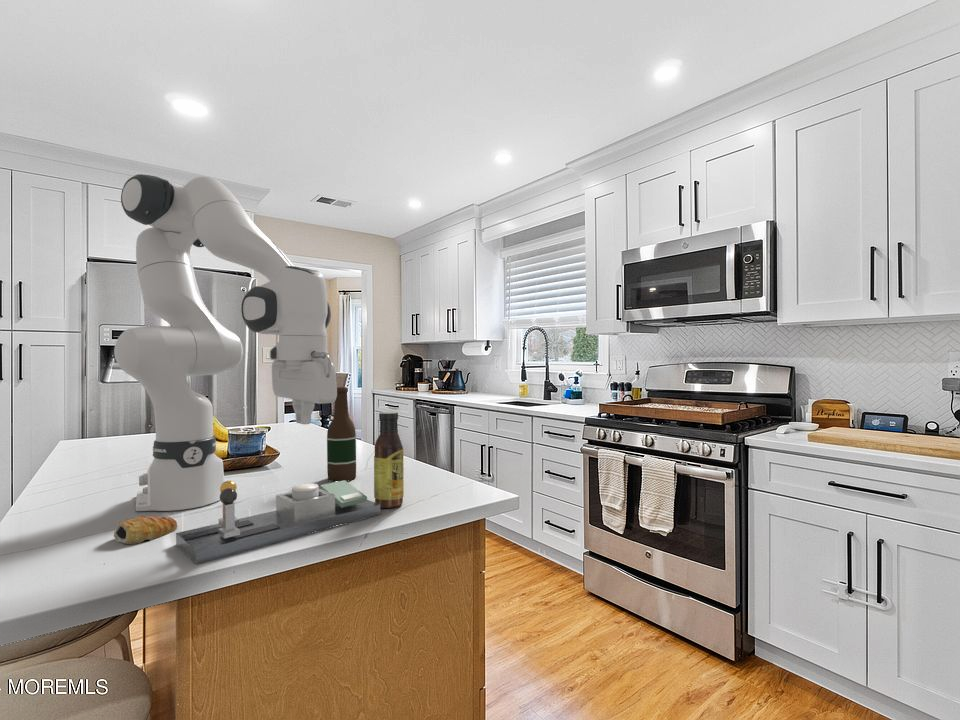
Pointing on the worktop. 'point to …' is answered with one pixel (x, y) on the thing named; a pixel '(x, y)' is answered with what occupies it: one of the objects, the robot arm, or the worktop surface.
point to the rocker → (344, 493)
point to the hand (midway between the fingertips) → (303, 423)
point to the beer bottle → (341, 441)
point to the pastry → (144, 529)
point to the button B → (305, 491)
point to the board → (273, 526)
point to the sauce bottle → (388, 463)
